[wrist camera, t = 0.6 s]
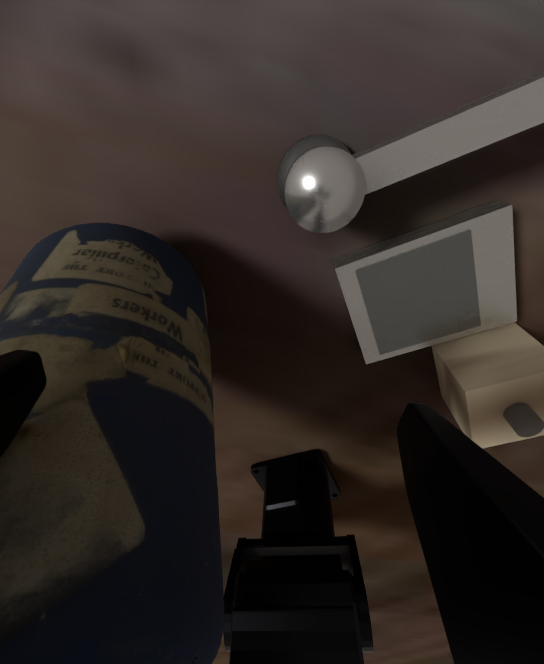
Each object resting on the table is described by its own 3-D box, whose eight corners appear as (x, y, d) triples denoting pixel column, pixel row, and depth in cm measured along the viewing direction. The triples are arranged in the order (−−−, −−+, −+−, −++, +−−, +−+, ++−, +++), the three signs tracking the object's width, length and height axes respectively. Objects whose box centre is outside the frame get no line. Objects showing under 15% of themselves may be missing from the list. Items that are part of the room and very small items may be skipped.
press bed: (502, 309, 21) (518, 322, 19) (361, 351, 23) (366, 365, 21) (495, 199, 17) (513, 205, 16) (331, 259, 19) (335, 269, 18)
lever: (627, 101, 13) (691, 94, 11) (299, 231, 16) (300, 245, 14) (638, -2, 12) (714, -32, 9) (274, 163, 15) (272, 168, 13)
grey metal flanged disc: (363, 201, 18) (373, 210, 16) (293, 229, 19) (294, 241, 16) (342, 120, 16) (350, 117, 14) (266, 155, 17) (263, 158, 15)
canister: (214, 225, 18) (285, 756, 5) (198, 347, 24) (213, 727, 11) (3, 195, 15) (-1053, 1230, 2) (46, 343, 21) (-168, 844, 8)
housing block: (513, 376, 23) (580, 447, 18) (440, 395, 25) (483, 467, 19) (510, 319, 21) (586, 380, 16) (430, 342, 22) (475, 407, 17)
